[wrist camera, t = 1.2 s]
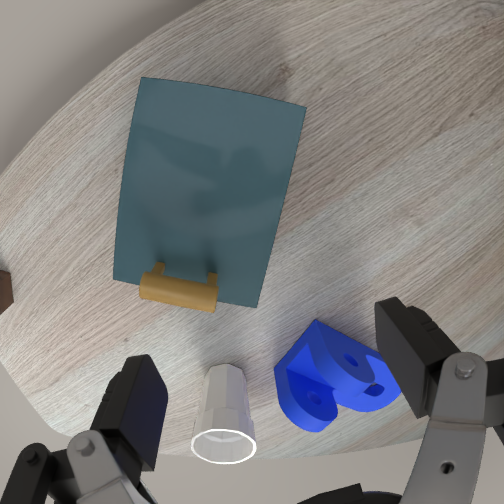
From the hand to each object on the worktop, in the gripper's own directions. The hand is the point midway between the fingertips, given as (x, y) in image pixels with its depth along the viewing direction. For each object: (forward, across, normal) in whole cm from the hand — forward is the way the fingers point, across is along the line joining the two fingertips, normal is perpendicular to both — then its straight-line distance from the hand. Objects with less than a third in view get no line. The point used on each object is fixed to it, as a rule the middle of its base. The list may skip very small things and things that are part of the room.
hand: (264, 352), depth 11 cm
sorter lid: (+14, +3, -4) cm, 15 cm away
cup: (+22, +8, +20) cm, 31 cm away
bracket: (+22, -8, +23) cm, 33 cm away
